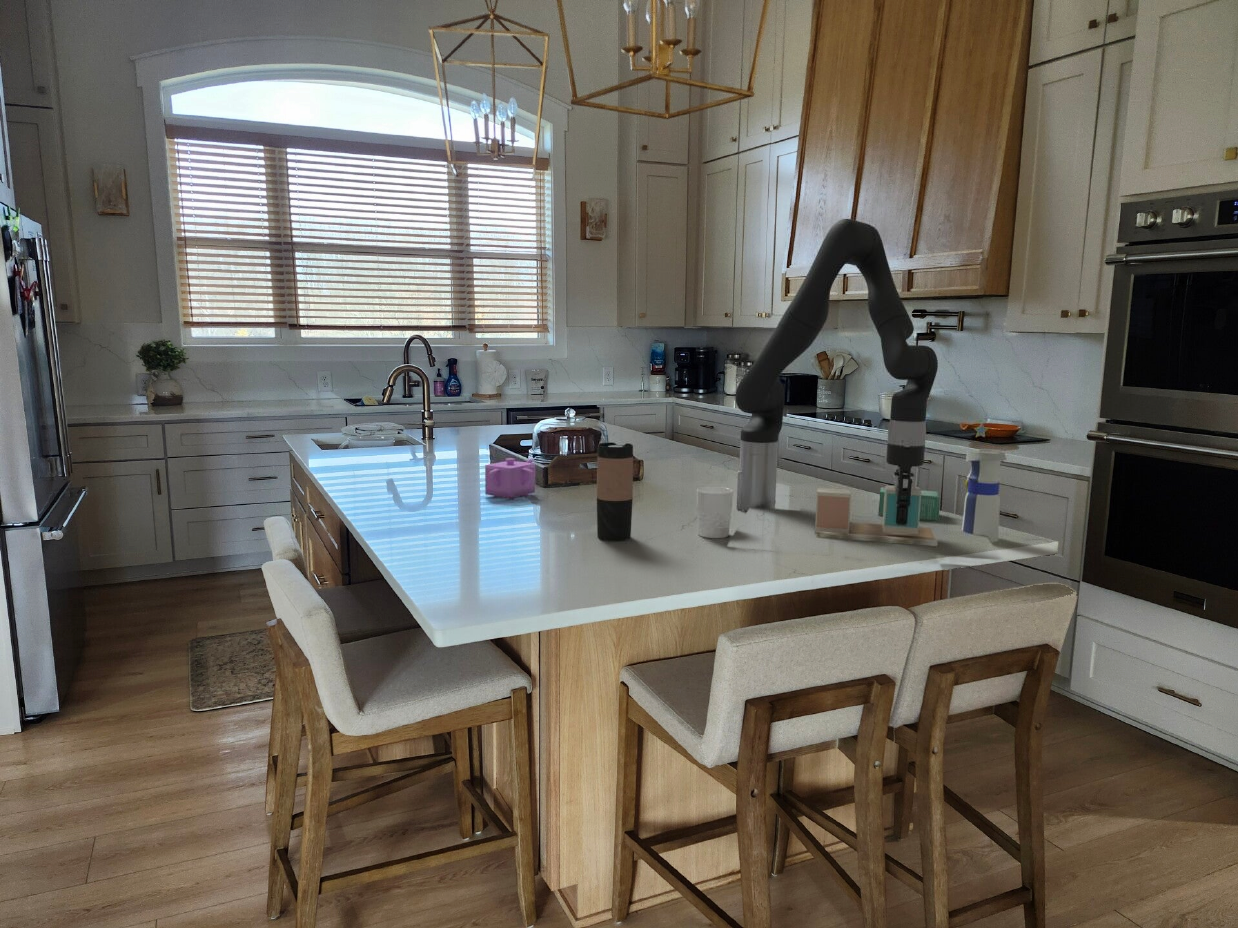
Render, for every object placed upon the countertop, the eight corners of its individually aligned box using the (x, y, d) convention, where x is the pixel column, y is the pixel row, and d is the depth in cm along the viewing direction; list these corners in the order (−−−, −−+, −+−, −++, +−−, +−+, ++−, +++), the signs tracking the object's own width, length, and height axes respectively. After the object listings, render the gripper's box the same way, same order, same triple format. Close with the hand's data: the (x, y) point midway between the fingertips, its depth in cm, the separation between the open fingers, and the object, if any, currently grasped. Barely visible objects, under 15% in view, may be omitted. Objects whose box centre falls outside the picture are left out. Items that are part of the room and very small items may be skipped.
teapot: (515, 488, 240) (514, 452, 238) (555, 494, 232) (555, 456, 231) (470, 498, 225) (470, 460, 223) (512, 505, 217) (512, 465, 216)
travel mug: (606, 542, 181) (607, 447, 177) (590, 534, 187) (591, 443, 184) (638, 539, 184) (640, 446, 181) (621, 531, 191) (623, 441, 188)
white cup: (734, 532, 192) (736, 488, 190) (727, 540, 184) (728, 494, 183) (700, 529, 194) (701, 485, 193) (691, 537, 187) (692, 491, 185)
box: (938, 527, 201) (940, 495, 199) (877, 522, 205) (879, 491, 203) (936, 520, 208) (938, 490, 206) (877, 516, 212) (879, 486, 210)
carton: (883, 531, 182) (886, 489, 181) (882, 526, 187) (885, 485, 186) (918, 534, 180) (921, 491, 179) (916, 528, 185) (919, 487, 184)
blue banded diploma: (949, 535, 192) (957, 423, 188) (978, 532, 196) (987, 422, 192) (977, 543, 185) (987, 427, 181) (1007, 540, 188) (1017, 426, 184)
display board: (816, 543, 183) (816, 532, 182) (819, 526, 199) (819, 515, 199) (936, 553, 177) (937, 541, 176) (929, 534, 193) (930, 523, 192)
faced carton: (814, 533, 186) (817, 491, 184) (815, 527, 191) (818, 487, 189) (848, 535, 184) (851, 494, 183) (848, 530, 189) (851, 489, 187)
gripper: (886, 436, 188) (881, 513, 191) (888, 445, 175) (883, 527, 177) (922, 438, 187) (917, 515, 189) (928, 447, 173) (921, 530, 176)
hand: (900, 521), depth 183 cm, fingers closed on carton, 5 cm apart
